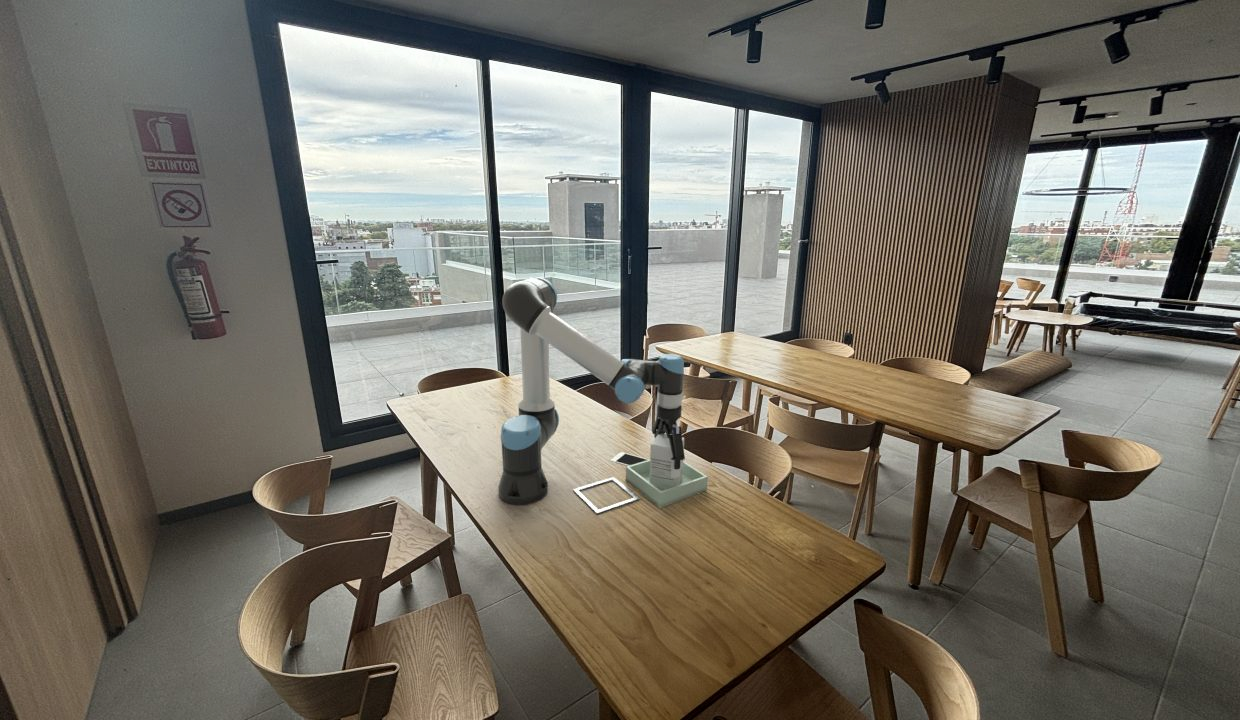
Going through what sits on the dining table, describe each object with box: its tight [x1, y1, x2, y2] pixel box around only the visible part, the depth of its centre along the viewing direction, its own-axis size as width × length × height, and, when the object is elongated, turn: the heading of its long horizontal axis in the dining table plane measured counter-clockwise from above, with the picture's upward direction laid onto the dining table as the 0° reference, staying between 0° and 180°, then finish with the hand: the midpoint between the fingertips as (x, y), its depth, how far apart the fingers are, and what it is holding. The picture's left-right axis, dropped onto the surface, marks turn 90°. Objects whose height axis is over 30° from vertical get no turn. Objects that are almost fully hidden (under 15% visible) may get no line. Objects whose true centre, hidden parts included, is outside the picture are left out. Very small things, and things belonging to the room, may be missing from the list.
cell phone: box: [610, 451, 650, 467], centre depth 173 cm, size 8×16×1 cm, turn 60°
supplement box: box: [649, 433, 685, 490], centre depth 156 cm, size 9×9×15 cm
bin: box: [625, 459, 709, 509], centre depth 158 cm, size 19×19×5 cm
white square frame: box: [573, 476, 640, 515], centre depth 152 cm, size 15×15×1 cm
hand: (666, 466), depth 156 cm, fingers open, 13 cm apart
